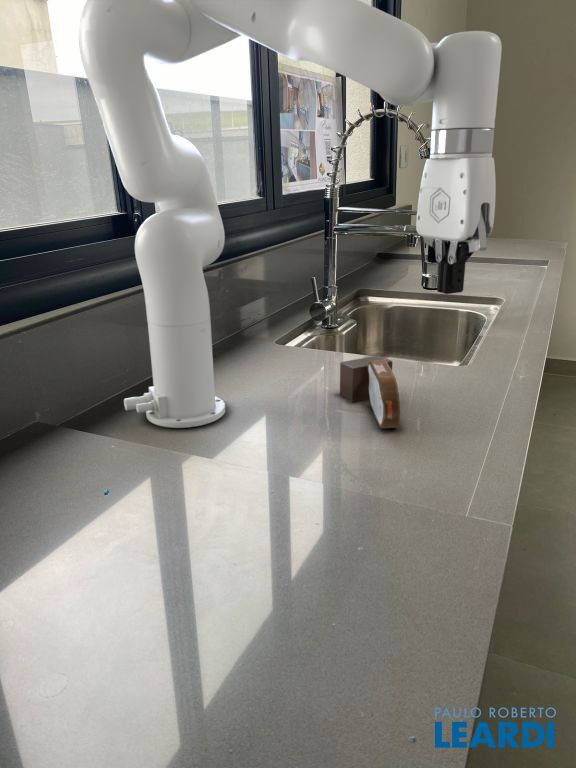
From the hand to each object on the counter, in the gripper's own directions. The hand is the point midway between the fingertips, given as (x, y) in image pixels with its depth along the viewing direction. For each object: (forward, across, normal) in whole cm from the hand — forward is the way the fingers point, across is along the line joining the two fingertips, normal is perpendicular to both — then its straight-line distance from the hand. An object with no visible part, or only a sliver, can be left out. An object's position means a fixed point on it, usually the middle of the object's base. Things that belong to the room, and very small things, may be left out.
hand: (449, 291), depth 82 cm
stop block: (+21, -19, 0) cm, 28 cm away
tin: (+21, -9, -4) cm, 24 cm away
